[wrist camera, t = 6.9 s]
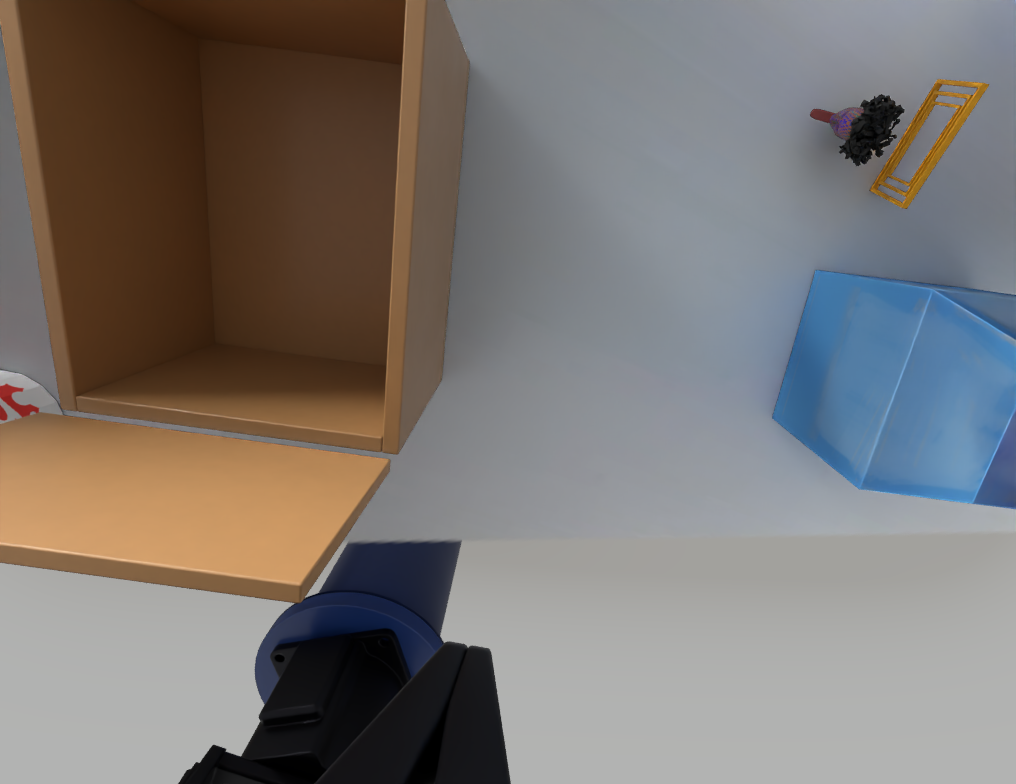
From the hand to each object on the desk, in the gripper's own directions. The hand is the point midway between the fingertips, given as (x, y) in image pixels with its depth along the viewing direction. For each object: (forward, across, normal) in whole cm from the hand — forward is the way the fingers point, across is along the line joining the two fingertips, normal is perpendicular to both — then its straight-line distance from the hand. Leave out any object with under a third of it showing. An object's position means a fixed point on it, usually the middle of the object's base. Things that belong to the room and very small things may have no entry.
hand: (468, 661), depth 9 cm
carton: (+13, +9, -6) cm, 17 cm away
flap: (+2, +8, -2) cm, 8 cm away
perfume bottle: (+16, -13, -2) cm, 20 cm away
